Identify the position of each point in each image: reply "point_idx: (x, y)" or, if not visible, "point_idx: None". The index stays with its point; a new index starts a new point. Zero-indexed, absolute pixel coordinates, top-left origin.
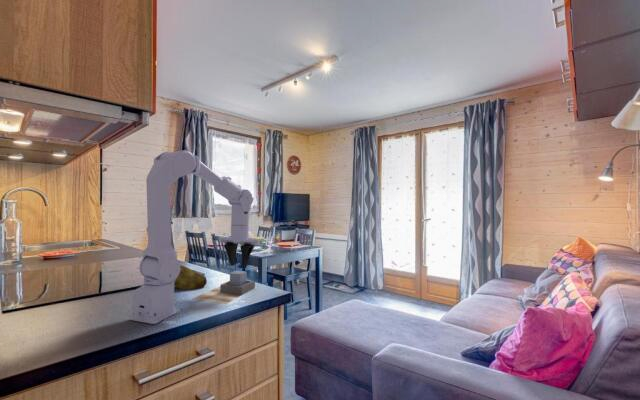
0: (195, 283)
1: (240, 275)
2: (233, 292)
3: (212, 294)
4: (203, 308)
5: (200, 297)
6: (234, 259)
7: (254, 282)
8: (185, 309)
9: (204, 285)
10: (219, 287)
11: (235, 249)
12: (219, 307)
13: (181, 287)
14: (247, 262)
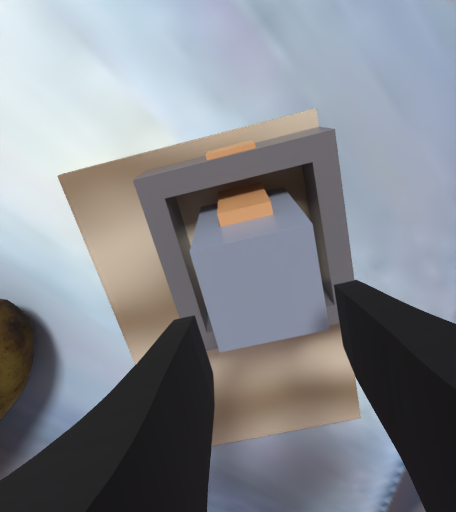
0: (20, 390)
1: (325, 323)
2: None
3: None
4: (297, 470)
5: None
6: (191, 372)
7: (333, 139)
8: (247, 504)
9: (29, 321)
10: (105, 263)
11: (153, 493)
12: (346, 435)
13: None
14: (377, 294)
